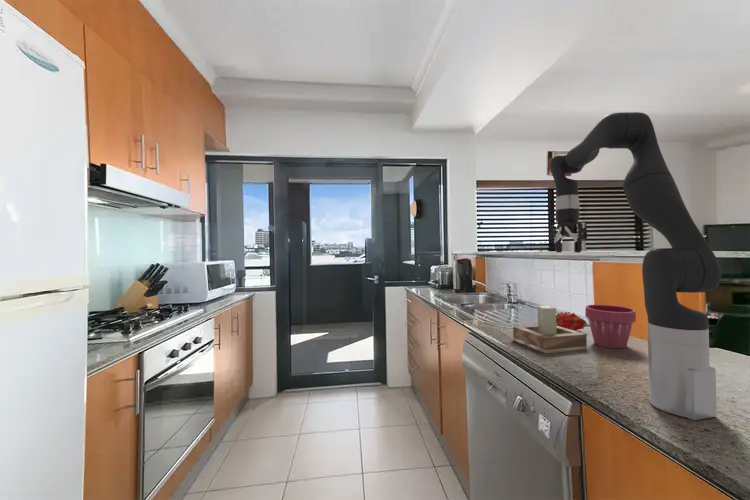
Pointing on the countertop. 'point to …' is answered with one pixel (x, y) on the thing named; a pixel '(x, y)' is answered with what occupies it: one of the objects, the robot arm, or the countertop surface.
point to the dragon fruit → (570, 321)
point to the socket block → (550, 339)
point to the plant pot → (610, 324)
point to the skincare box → (547, 320)
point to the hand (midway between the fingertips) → (568, 252)
